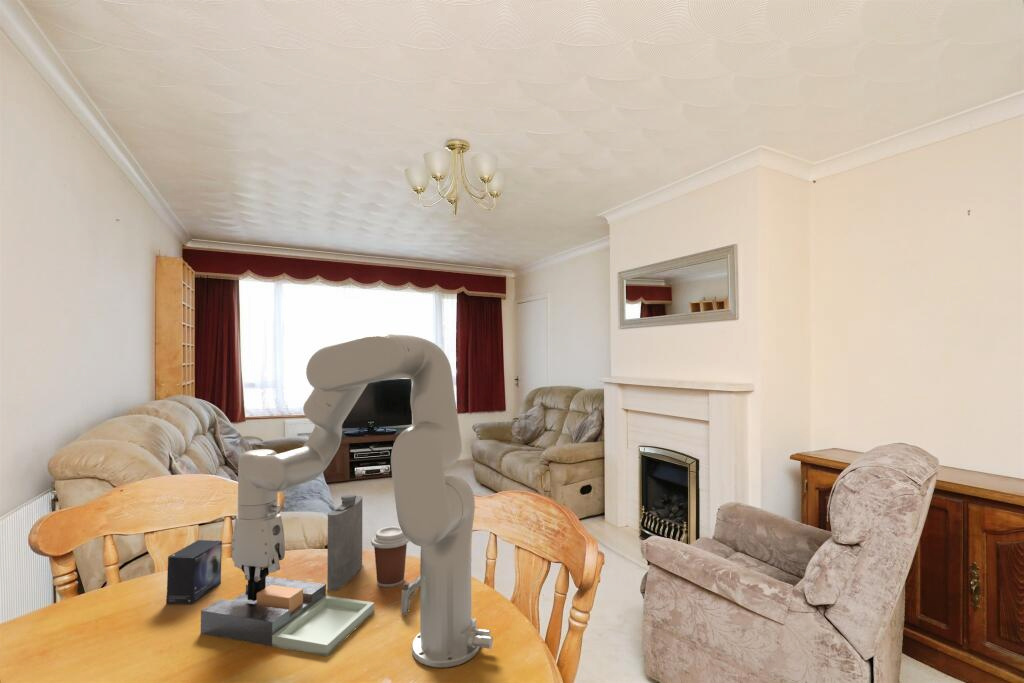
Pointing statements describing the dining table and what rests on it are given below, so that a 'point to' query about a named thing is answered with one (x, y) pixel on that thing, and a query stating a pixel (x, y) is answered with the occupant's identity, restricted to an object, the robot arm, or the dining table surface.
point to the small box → (193, 571)
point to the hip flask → (344, 541)
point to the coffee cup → (390, 556)
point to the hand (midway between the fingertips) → (256, 597)
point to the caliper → (408, 594)
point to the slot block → (256, 614)
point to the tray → (323, 625)
